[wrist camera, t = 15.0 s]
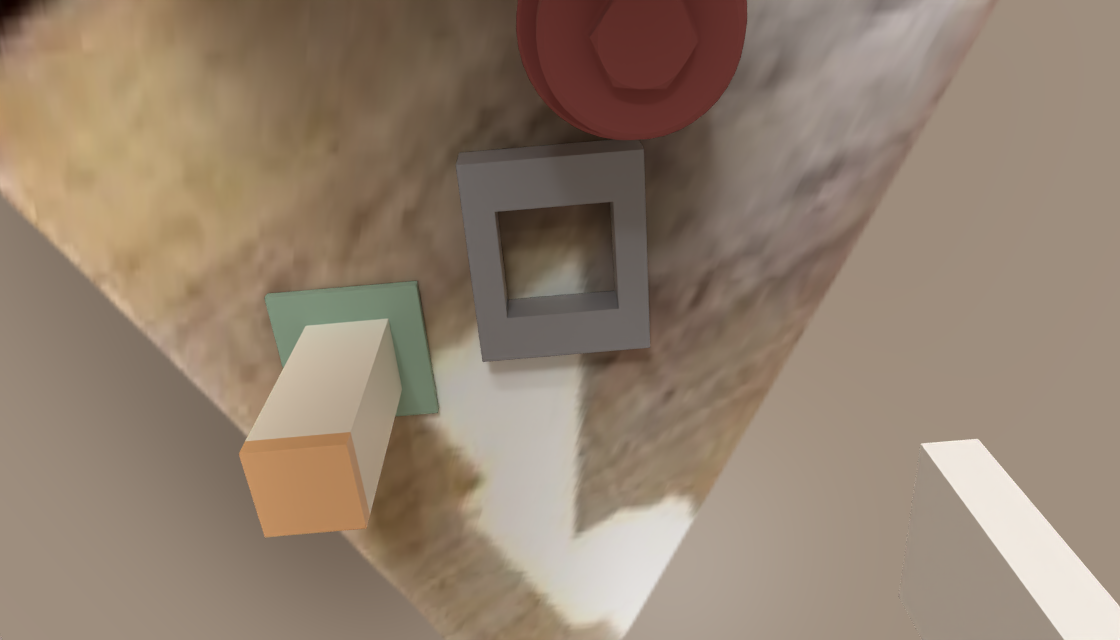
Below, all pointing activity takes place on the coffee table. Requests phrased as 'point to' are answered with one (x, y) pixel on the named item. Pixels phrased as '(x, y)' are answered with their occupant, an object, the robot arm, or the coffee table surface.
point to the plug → (325, 430)
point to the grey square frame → (552, 183)
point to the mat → (361, 305)
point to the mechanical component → (630, 60)
